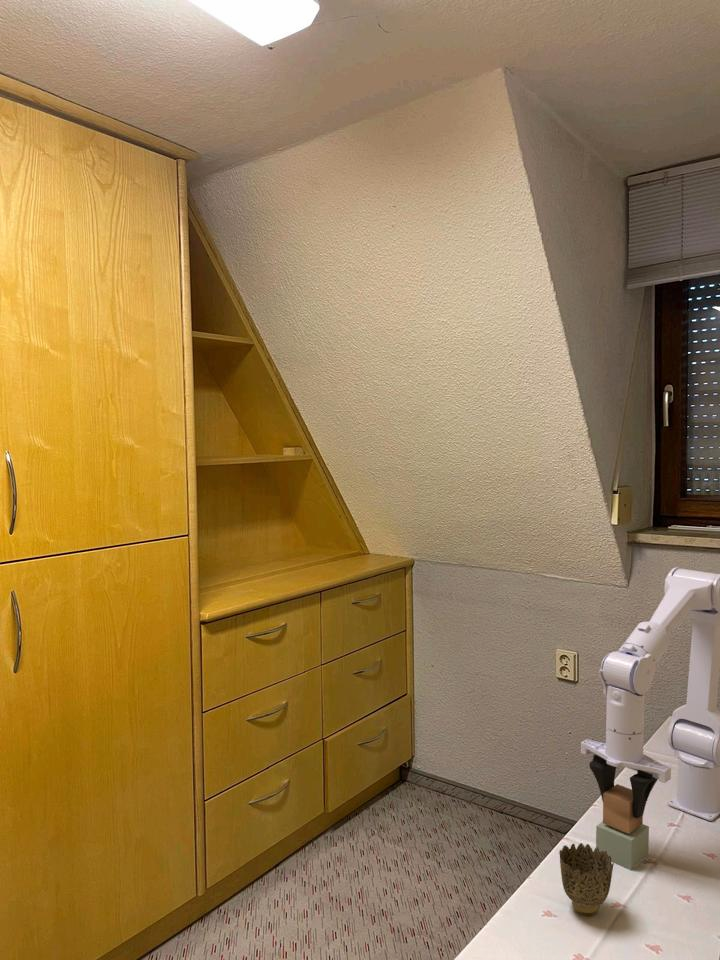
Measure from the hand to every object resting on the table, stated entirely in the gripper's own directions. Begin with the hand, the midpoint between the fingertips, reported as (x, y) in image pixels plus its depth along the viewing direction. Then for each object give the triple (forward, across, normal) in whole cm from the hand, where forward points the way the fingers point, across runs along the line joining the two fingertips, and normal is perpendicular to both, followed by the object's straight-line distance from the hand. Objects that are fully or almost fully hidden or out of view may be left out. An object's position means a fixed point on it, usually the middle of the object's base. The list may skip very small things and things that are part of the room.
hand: (623, 809), depth 120 cm
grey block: (+8, 0, 0) cm, 8 cm away
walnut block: (+2, 0, 0) cm, 2 cm away
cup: (+8, +4, -17) cm, 19 cm away
